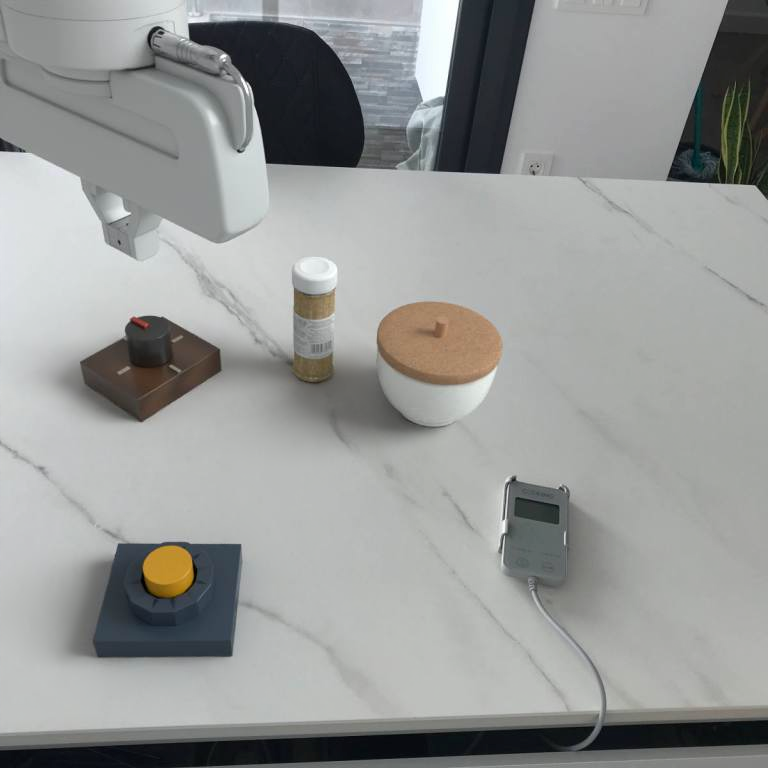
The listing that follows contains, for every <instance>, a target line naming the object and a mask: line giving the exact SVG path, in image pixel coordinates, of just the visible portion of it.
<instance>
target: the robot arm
mask: <svg viewBox="0 0 768 768" xmlns="http://www.w3.org/2000/svg"><path fill="white" fill-rule="evenodd" d="M187 6H188V5H187V0H0V139H1V140H3V141H4V142H7V143H9V144H11V145H13V146H15V147H17V148H20V149H22V150H23V151H25V152H27V153H29V154H32V155H34V156H35V157H38V158H40V159H42V160H44V161H45V162H48V163H50V164H52V165H54V166H56V167H58V168H60V169H62V170H64V171H66V172H69V173H70V174H72V175H75V176H76V177H79V179H80V184H81V190H82V192H83V193H84V195H85V196H86V199H87V200H88V202H89V204H90V206H91V207H92V209H93V211H94V213H95V215H96V217H97V218H98V221H100V222H101V228H102V234H103V239H104V242H105V244H106V245H108V246H109V247H112V248H114V249H115V250H117V251H119V252H121V253H123V254H125V255H127V256H128V257H130V258H132V259H134V260H136V261H137V262H144V261H146V260H148V259H150V258H152V257H154V256H156V255H157V254H158V252H159V250H160V243H159V242H160V240H159V232H158V228H159V227H160V226H161V223H162V221H163V219H164V220H166V221H169V222H170V223H172V224H175V225H176V226H179V227H181V228H182V229H184V230H186V231H189V232H190V233H193V234H194V235H197V236H198V237H201V238H202V239H205V240H207V241H209V242H211V243H214V244H218V245H220V244H224V243H226V242H230V241H231V240H234V239H236V238H238V237H239V236H242V235H244V234H246V233H247V232H250V231H251V230H253V229H255V228H257V227H258V226H259V225H260V224H261V223H262V221H264V220H265V218H266V217H267V215H268V213H269V211H270V190H269V189H270V188H269V181H268V179H269V178H268V171H267V170H268V169H267V162H266V156H265V155H266V154H265V147H264V142H263V141H264V140H263V136H262V129H261V125H260V121H259V116H258V113H257V110H256V106H255V98H254V93H253V90H252V87H251V85H250V84H249V82H248V81H246V79H245V78H244V76H243V75H242V74H241V72H240V71H239V69H238V68H237V67H236V66H235V65H233V64H232V59H231V56H230V55H229V54H228V53H226V52H225V51H223V50H222V49H219V48H218V47H215V46H210V45H202V44H199V43H196V42H195V41H193V40H191V39H190V31H189V19H188V7H187Z"/></svg>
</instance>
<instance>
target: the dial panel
mask: <svg viewBox="0 0 768 768" xmlns="http://www.w3.org/2000/svg"><path fill="white" fill-rule="evenodd" d="M160 317H161V318H163V319H165V320H166V321H167V322H168V323H169V326H170V334H171V342H172V350H173V355H172V357H171V359H170V360H169V361H168V362H166V363H165V364H163V365H160V366H157V367H140V366H137V365H135V364H134V363H132V361H131V360H130V358H129V353H128V347H127V341H126V336H124V337H122V338H120V339H118V340H117V341H115V342H113V343H111V344H109V345H107V346H105V347H104V348H102V349H100V350H98V351H96V352H95V353H92V354H91V355H89V356H87V357H86V358H84V359H82V360H80V361H79V364H80V370H81V374H82V378H83V383H84V385H86V386H87V387H89V388H90V389H92V390H93V391H95V392H96V393H97V394H99V395H100V396H102V397H104V398H105V399H107V400H108V401H109V402H111V403H113V404H114V405H116V406H117V407H119V408H120V409H121V410H124V411H125V412H126V413H128V414H129V415H131V416H132V417H134V418H136V419H137V420H139V421H140V422H141V423H142V422H145V421H146V420H147V419H149V418H150V417H152V416H154V415H155V414H156V413H158V412H160V411H162V410H163V409H165V408H167V406H169V405H171V404H172V403H173V402H175V401H177V400H178V399H179V398H182V397H183V396H185V395H187V393H189V392H190V391H192V390H194V389H195V388H197V387H199V386H200V385H201V384H203V383H205V382H207V381H208V380H209V379H211V378H212V377H214V376H215V375H217V374H219V373H220V372H221V371H222V358H221V348H219V347H218V346H216V345H214V344H212V343H210V342H208V341H207V340H205V339H203V338H202V337H199V336H198V335H196V334H195V333H193V332H191V331H189V330H187V329H186V328H184V327H182V326H180V325H179V324H177V323H175V322H173V321H172V320H170V319H168V318H166V317H165V316H163V315H162V316H160Z"/></svg>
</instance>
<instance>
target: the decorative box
mask: <svg viewBox="0 0 768 768" xmlns="http://www.w3.org/2000/svg"><path fill="white" fill-rule="evenodd" d="M376 346H377V347H376V367H377V368H376V371H377V375H378V380H379V385H380V387H381V389H382V392H383V394H384V396H385V397H386V398H387V400H388V402H389V403H390V404H391V406H393V407H394V408H395V409H396V410H397V411H398V412H399V413H400V414H401V415H402V416H403V417H404V418H405V419H406V420H408V421H410V422H411V423H414V424H415V425H419V426H424V427H429V428H439V427H445V426H449V425H451V424H453V423H455V422H456V421H458V420H461V419H463V418H465V417H467V416H468V415H470V414H471V413H473V412H474V411H475V410H476V409H478V407H479V406H480V405H481V403H482V402H483V401H484V400H485V398H486V397H487V395H488V393H489V392H490V390H491V387H492V385H493V382H494V379H495V377H496V374H497V369H498V366H499V363H500V360H501V358H502V353H503V339H502V336H501V334H500V332H499V331H498V329H497V328H496V327H495V325H494V324H493V323H492V322H491V321H490V320H489V319H487V318H486V317H485V316H483V315H481V313H479V312H477V311H474V310H472V309H470V308H467V307H465V306H462V305H459V304H455V303H450V302H445V301H418V302H411V303H408V304H404V305H402V306H399V307H397V308H395V309H392V310H391V311H390V312H388V313H387V314H386V315H385V316H384V317H383V318H382V319H381V321H380V322H379V323H378V327H377V330H376Z"/></svg>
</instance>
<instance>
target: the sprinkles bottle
mask: <svg viewBox="0 0 768 768" xmlns="http://www.w3.org/2000/svg"><path fill="white" fill-rule="evenodd" d="M291 284H292V287H293V306H292V307H293V308H292V315H293V316H292V321H293V322H292V325H293V327H292V329H293V332H292V333H293V335H292V336H293V337H292V338H293V343H292V347H293V364H292V371H293V374H294V375H295V377H297V379H300V380H301V381H305V382H308V383H319V382H322V381H325V380H328V378H330V377H331V376H332V375H333V372H334V363H333V359H334V344H335V343H334V341H335V317H336V315H335V313H336V312H335V311H336V289H337V285H338V267H337V265H336V264H335V263H334V262H333V261H332V260H330V259H328V258H327V257H326V258H325V257H321V256H307V257H306V256H305V257H303V258H300V259H298V260H297V261H296V262H294V264H293V265H292V268H291Z"/></svg>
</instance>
